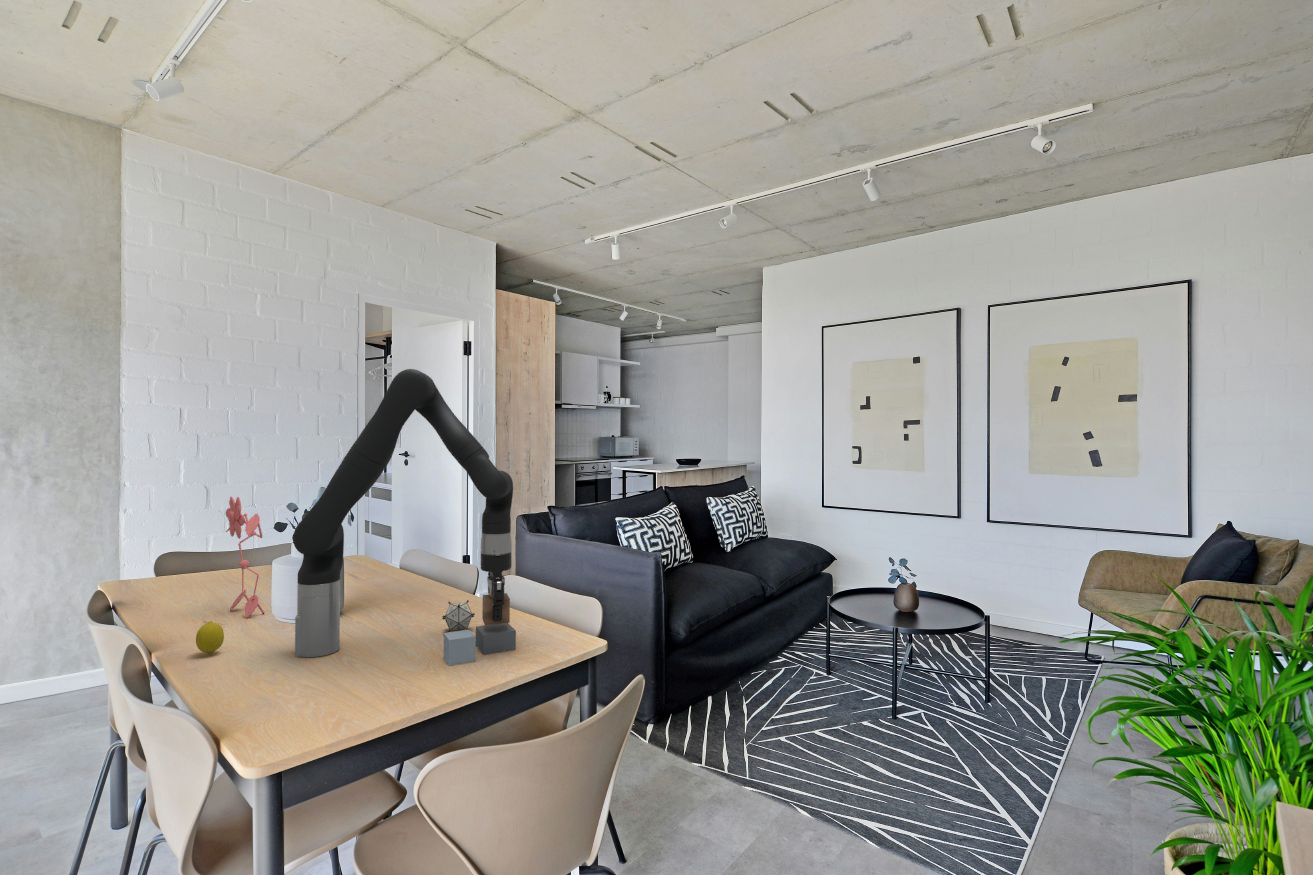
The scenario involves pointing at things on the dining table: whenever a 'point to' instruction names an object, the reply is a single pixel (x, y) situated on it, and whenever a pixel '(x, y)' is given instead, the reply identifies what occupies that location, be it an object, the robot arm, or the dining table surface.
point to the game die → (458, 616)
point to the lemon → (209, 637)
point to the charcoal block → (495, 638)
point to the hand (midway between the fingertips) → (495, 617)
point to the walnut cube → (488, 610)
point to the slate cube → (459, 647)
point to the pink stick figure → (235, 526)
